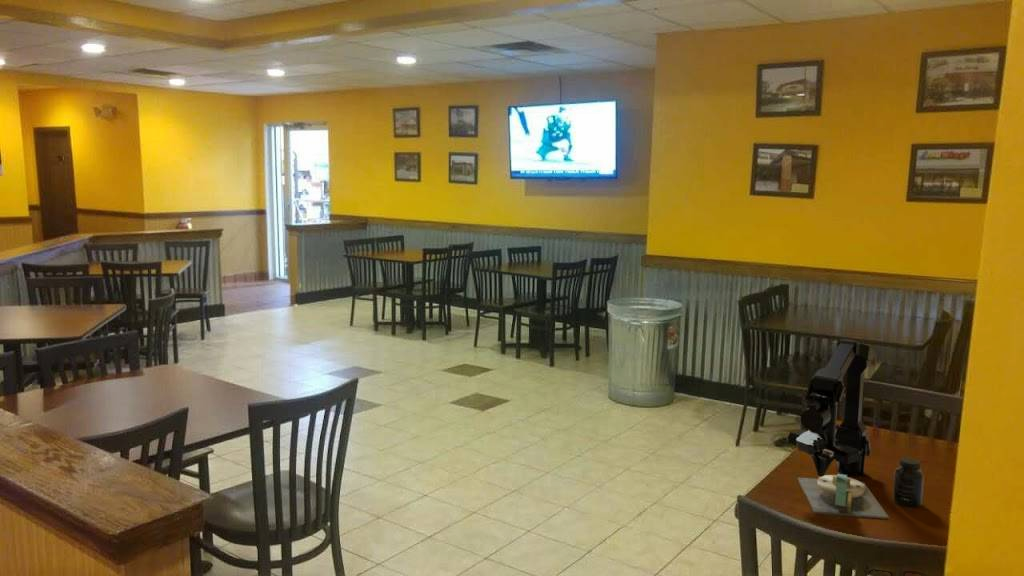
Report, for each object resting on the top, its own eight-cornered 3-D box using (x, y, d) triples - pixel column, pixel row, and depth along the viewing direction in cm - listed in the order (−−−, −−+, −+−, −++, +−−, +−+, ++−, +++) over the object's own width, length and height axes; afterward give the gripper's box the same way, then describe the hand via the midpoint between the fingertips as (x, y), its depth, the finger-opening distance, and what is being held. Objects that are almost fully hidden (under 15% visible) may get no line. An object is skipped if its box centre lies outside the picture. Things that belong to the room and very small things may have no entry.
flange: (818, 476, 207) (819, 456, 206) (864, 483, 202) (866, 462, 201) (815, 501, 191) (816, 479, 190) (865, 509, 186) (867, 487, 185)
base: (863, 483, 209) (864, 463, 208) (888, 519, 188) (890, 497, 187) (797, 479, 212) (798, 459, 211) (814, 513, 191) (816, 491, 190)
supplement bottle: (895, 495, 202) (899, 453, 200) (923, 502, 197) (927, 459, 196) (890, 503, 196) (893, 461, 195) (918, 511, 192) (922, 467, 190)
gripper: (775, 415, 198) (772, 470, 200) (836, 437, 182) (831, 496, 184) (802, 409, 203) (799, 462, 206) (863, 429, 187) (859, 486, 190)
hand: (820, 476), depth 196 cm, fingers closed
